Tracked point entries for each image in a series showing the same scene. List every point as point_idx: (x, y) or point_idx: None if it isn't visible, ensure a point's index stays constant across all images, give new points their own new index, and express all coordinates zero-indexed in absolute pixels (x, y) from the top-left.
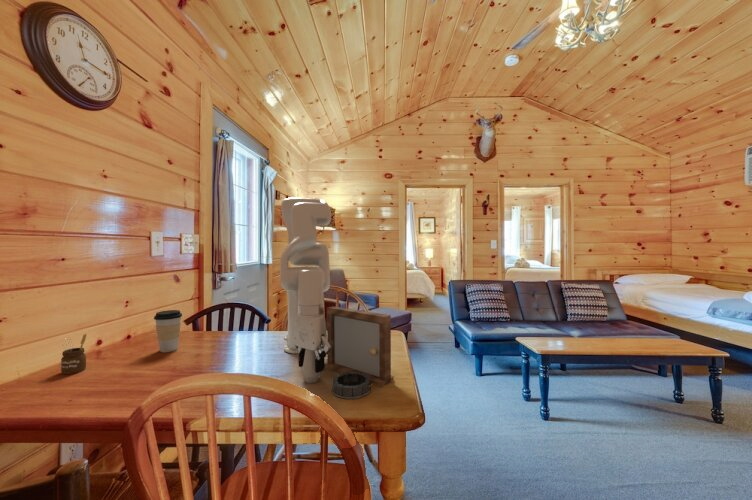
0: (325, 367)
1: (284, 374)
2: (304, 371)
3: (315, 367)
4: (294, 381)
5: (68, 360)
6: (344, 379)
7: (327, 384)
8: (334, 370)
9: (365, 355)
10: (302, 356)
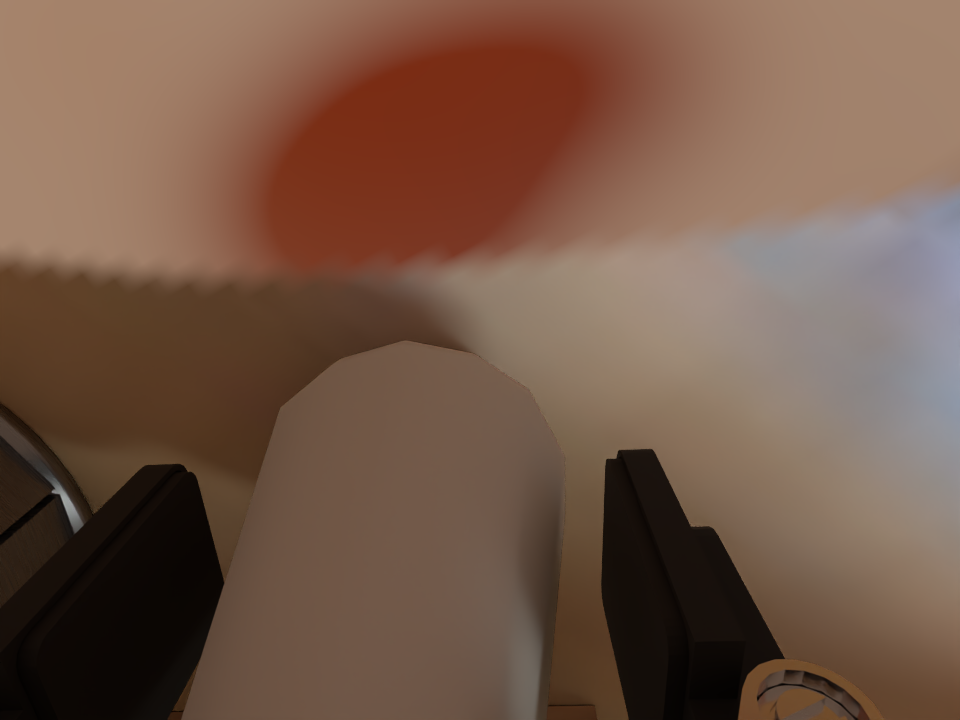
0: (571, 714)
1: (905, 317)
2: (388, 383)
3: (124, 513)
4: (583, 265)
5: None
6: None
7: None
8: None
9: None
10: (647, 641)
